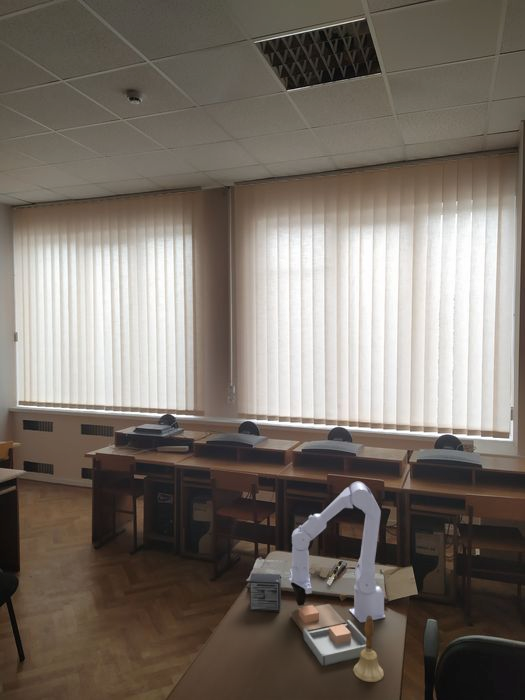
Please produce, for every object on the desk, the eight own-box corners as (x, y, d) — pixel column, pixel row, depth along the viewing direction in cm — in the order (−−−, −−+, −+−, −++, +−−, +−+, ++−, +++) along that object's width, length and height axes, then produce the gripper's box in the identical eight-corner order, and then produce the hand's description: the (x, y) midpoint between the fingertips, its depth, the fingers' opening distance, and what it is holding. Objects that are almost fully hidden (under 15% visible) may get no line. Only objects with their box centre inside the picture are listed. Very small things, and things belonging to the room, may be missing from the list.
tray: (349, 628, 163) (349, 619, 163) (372, 654, 150) (371, 644, 150) (303, 638, 158) (303, 629, 158) (322, 666, 145) (322, 655, 145)
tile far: (312, 612, 169) (312, 604, 169) (319, 620, 165) (319, 612, 165) (298, 614, 168) (298, 607, 168) (304, 623, 163) (304, 615, 163)
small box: (281, 602, 180) (281, 573, 179) (280, 612, 173) (280, 582, 173) (251, 601, 181) (251, 572, 180) (249, 611, 174) (249, 581, 174)
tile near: (343, 631, 161) (343, 624, 161) (350, 640, 156) (350, 632, 156) (329, 635, 159) (329, 627, 159) (336, 644, 154) (336, 636, 154)
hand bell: (383, 664, 145) (383, 609, 145) (384, 684, 137) (384, 626, 137) (353, 661, 147) (353, 606, 147) (353, 680, 139) (352, 622, 138)
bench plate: (329, 609, 175) (329, 603, 175) (345, 628, 163) (345, 622, 163) (291, 616, 170) (291, 611, 170) (305, 637, 159) (305, 630, 159)
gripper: (281, 557, 178) (282, 596, 178) (297, 576, 164) (297, 617, 165) (300, 555, 180) (300, 592, 181) (317, 573, 167) (317, 613, 167)
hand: (300, 604), depth 173 cm, fingers closed
